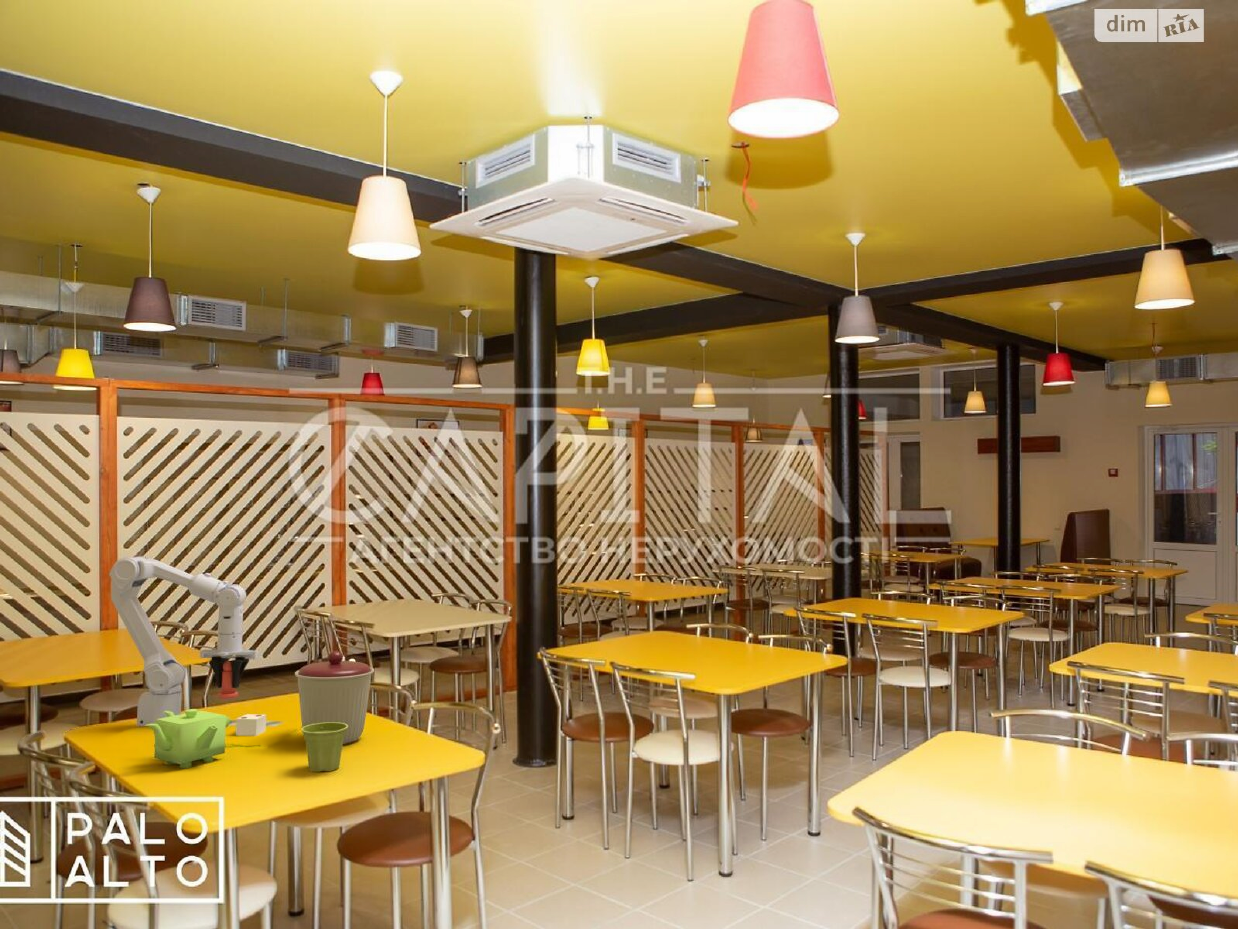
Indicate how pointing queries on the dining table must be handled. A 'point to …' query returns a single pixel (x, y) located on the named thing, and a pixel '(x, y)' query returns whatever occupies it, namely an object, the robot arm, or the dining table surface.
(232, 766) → the dining table surface
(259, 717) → the die
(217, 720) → the kettle
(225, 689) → the pawn
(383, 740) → the dining table surface
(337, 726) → the plant pot
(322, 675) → the canister
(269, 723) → the board
